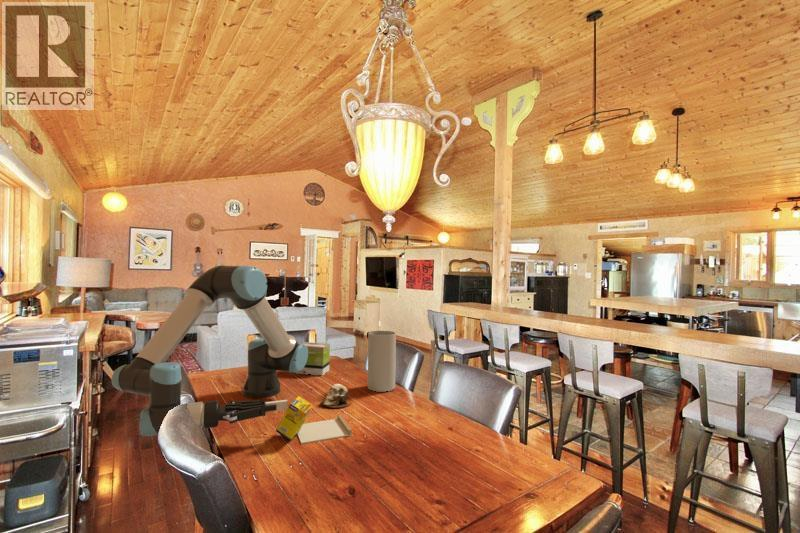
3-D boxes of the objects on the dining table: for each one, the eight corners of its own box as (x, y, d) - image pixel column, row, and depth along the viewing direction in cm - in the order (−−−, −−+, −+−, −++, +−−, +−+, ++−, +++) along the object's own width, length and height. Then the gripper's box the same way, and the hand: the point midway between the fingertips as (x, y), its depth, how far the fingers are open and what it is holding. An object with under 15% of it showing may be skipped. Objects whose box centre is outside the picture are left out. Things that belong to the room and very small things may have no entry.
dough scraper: (301, 444, 116) (301, 438, 116) (294, 426, 129) (294, 421, 129) (351, 435, 123) (351, 429, 123) (340, 419, 136) (340, 414, 136)
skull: (333, 409, 142) (322, 385, 147) (322, 422, 148) (312, 398, 153) (358, 401, 150) (348, 378, 155) (347, 413, 156) (337, 390, 161)
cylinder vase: (400, 387, 174) (401, 332, 174) (384, 394, 163) (385, 336, 163) (378, 382, 180) (379, 329, 180) (361, 389, 170) (362, 333, 170)
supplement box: (290, 441, 118) (305, 413, 116) (274, 431, 118) (289, 403, 117) (299, 432, 123) (313, 405, 122) (284, 422, 124) (298, 395, 123)
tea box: (294, 374, 192) (295, 345, 192) (302, 369, 202) (303, 341, 202) (322, 376, 189) (323, 346, 189) (329, 371, 199) (330, 342, 199)
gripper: (205, 419, 117) (284, 409, 127) (201, 437, 105) (289, 424, 115) (205, 395, 117) (284, 386, 127) (202, 410, 105) (290, 399, 115)
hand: (286, 404), depth 121 cm, fingers closed
